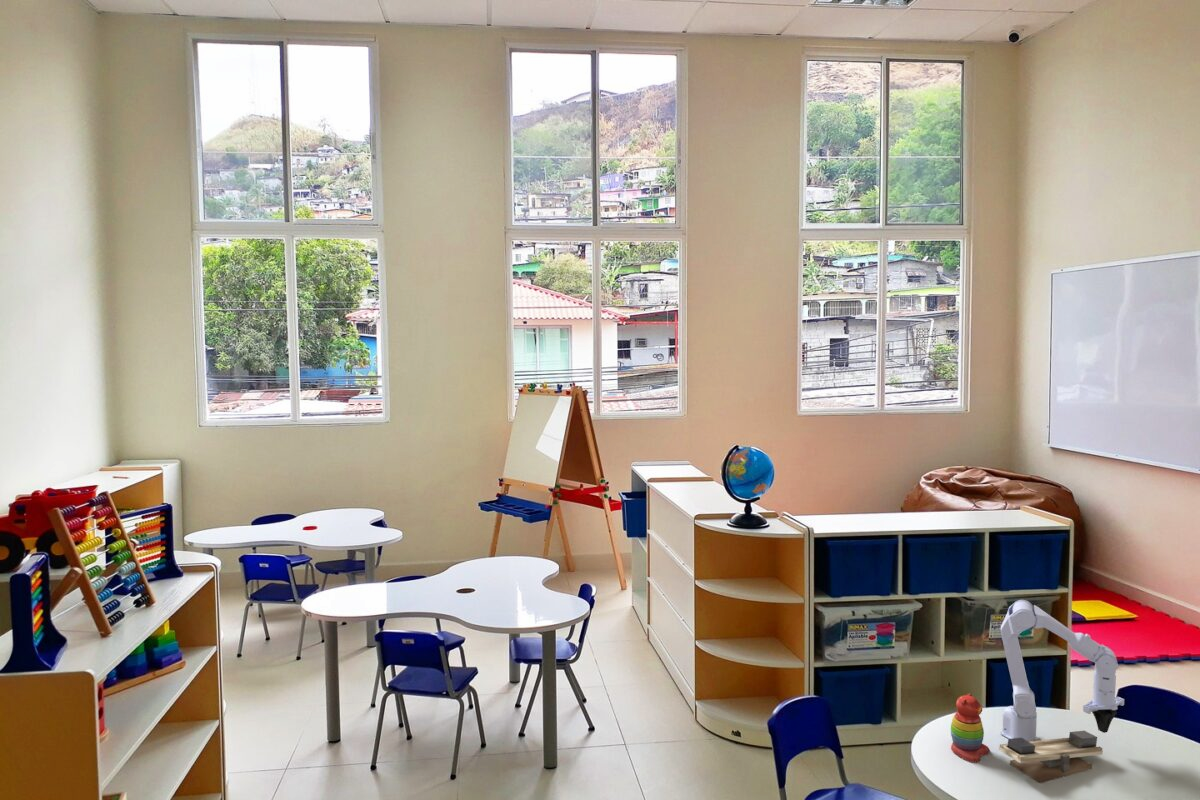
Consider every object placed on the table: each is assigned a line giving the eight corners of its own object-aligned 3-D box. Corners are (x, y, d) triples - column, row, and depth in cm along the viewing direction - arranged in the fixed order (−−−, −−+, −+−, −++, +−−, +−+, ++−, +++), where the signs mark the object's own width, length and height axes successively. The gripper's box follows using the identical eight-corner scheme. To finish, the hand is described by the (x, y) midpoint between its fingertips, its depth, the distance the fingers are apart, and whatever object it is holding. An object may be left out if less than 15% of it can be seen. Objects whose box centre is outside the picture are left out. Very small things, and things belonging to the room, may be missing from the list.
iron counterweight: (1007, 748, 250) (1008, 738, 250) (1020, 747, 252) (1021, 737, 252) (1020, 756, 245) (1022, 746, 245) (1033, 755, 247) (1035, 745, 247)
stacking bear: (976, 764, 256) (977, 707, 254) (943, 752, 263) (944, 697, 261) (992, 751, 263) (993, 696, 261) (960, 739, 270) (961, 686, 268)
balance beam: (998, 749, 251) (999, 744, 251) (1079, 741, 262) (1080, 736, 262) (1020, 763, 244) (1021, 757, 243) (1102, 754, 255) (1103, 748, 254)
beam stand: (1009, 764, 255) (1010, 745, 254) (1060, 750, 262) (1061, 732, 261) (1040, 783, 245) (1040, 763, 244) (1092, 768, 251) (1092, 749, 251)
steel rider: (1068, 743, 258) (1069, 731, 258) (1083, 741, 260) (1084, 730, 260) (1081, 750, 254) (1082, 738, 254) (1095, 748, 256) (1097, 737, 256)
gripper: (1098, 698, 252) (1096, 741, 253) (1134, 689, 257) (1132, 732, 258) (1077, 688, 258) (1076, 731, 260) (1112, 680, 263) (1111, 722, 265)
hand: (1102, 731), depth 259 cm, fingers closed
